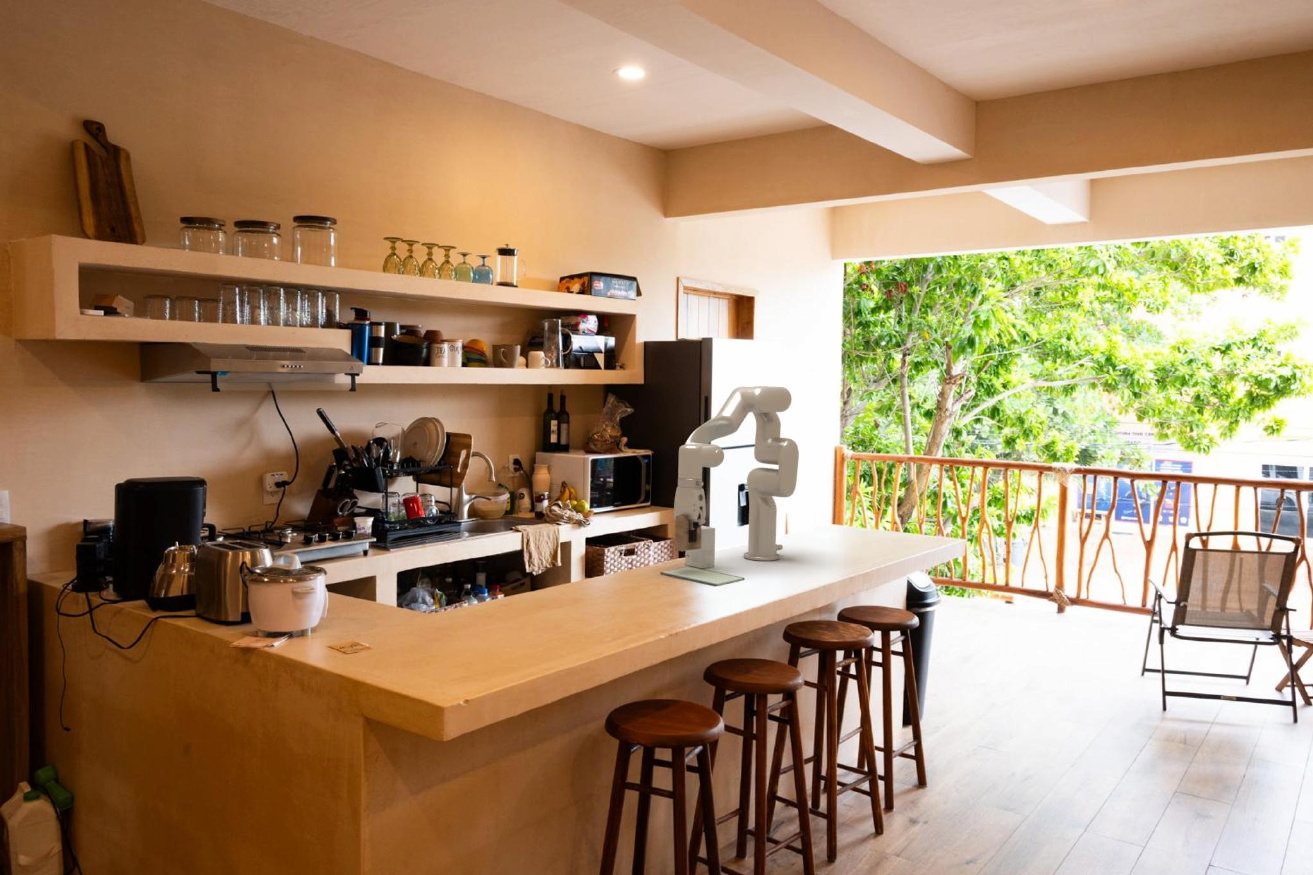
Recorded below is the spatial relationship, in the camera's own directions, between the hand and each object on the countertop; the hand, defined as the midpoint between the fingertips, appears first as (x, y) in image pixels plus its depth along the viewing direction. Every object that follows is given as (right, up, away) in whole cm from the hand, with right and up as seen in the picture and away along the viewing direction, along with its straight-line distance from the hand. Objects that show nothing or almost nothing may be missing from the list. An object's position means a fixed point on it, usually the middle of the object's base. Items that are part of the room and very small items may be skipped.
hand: (688, 540), depth 307 cm
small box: (+4, -10, +15) cm, 18 cm away
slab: (0, -3, 0) cm, 3 cm away
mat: (+4, -11, -3) cm, 12 cm away
